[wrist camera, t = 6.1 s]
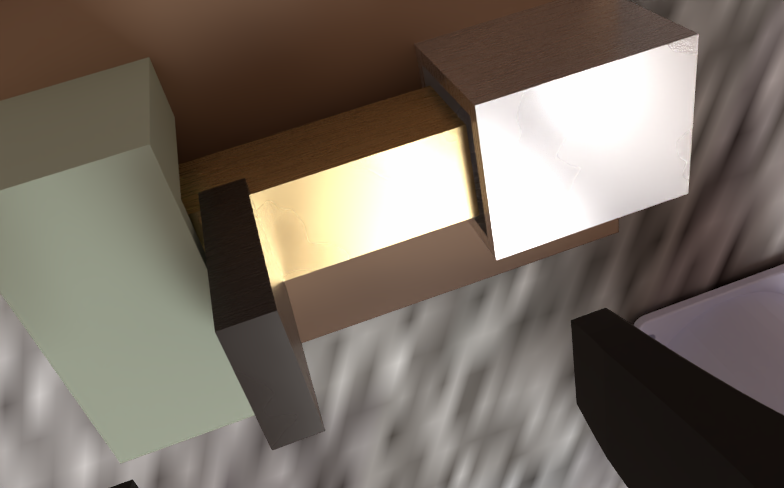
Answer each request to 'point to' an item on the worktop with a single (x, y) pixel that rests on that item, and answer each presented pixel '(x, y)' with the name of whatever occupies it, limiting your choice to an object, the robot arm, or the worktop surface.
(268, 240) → the light wooden block
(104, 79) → the socket block
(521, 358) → the worktop surface
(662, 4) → the worktop surface
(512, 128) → the white cardboard cube
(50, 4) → the walnut board
